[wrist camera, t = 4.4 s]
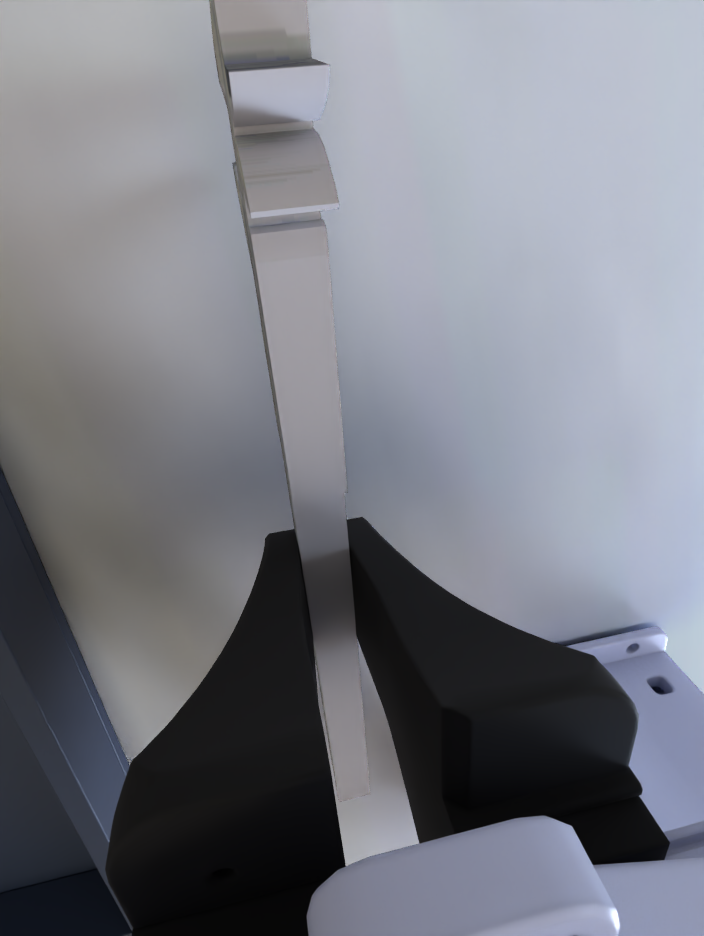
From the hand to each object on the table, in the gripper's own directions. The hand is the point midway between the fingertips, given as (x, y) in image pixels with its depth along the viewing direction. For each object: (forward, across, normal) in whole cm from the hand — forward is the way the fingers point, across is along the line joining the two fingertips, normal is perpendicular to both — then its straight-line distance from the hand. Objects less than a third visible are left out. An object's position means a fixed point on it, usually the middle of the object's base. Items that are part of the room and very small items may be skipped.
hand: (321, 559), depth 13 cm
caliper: (+2, 0, 0) cm, 2 cm away
